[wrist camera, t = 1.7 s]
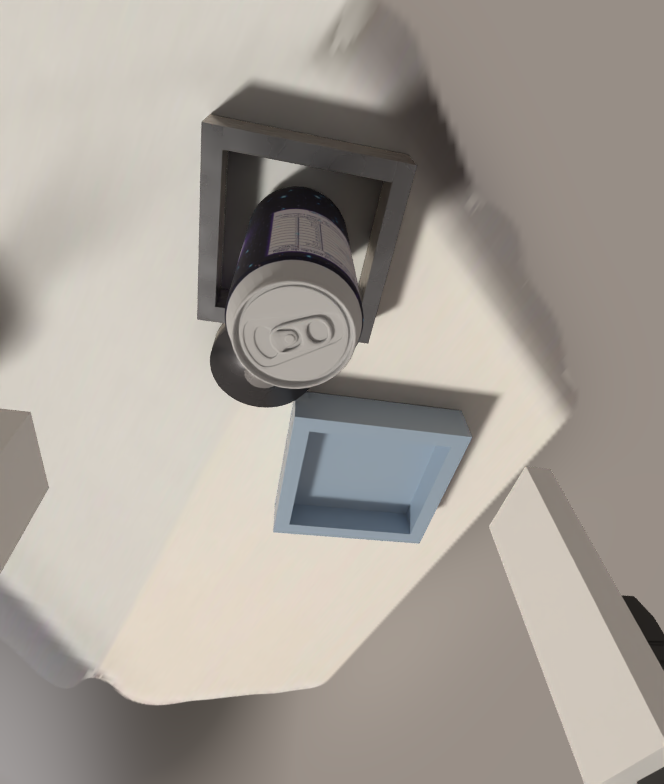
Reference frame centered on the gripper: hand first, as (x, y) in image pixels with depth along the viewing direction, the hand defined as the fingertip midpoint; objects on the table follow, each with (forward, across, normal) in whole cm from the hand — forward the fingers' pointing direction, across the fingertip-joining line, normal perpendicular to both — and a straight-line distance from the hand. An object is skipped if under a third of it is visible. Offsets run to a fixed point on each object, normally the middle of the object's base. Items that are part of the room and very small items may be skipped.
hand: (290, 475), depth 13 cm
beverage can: (+19, 0, 0) cm, 19 cm away
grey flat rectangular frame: (+19, 0, -3) cm, 19 cm away
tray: (+19, +8, -18) cm, 27 cm away
